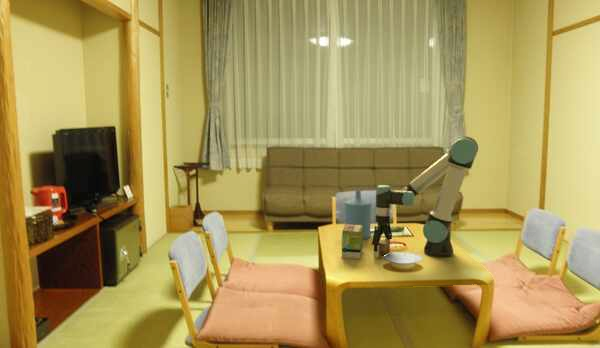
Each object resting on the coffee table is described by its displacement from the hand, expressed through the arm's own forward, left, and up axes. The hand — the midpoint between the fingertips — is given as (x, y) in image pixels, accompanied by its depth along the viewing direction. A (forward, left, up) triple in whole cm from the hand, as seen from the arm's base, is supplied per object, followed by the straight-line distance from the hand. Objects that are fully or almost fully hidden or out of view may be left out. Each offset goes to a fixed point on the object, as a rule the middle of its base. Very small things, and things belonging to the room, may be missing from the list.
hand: (381, 253), depth 260 cm
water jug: (+28, -24, 0) cm, 37 cm away
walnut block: (0, 0, 0) cm, 0 cm away
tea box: (+13, +9, 0) cm, 16 cm away
